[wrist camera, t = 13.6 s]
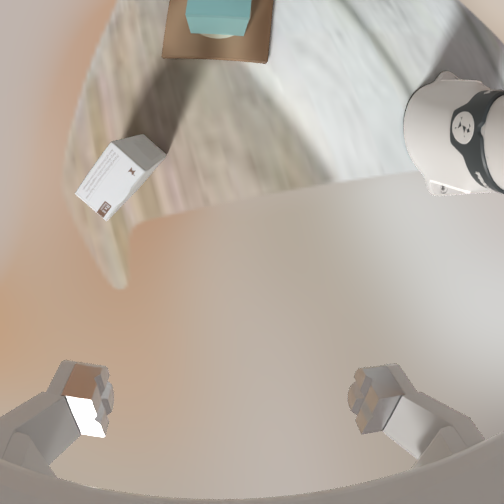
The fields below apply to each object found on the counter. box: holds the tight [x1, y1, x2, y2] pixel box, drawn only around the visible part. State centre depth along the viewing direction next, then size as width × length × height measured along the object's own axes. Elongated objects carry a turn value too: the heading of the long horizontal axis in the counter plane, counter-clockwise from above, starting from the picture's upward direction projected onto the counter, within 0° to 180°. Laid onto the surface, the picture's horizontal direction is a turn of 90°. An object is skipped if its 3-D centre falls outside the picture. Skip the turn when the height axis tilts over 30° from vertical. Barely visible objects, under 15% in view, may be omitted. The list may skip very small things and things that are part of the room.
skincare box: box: [75, 134, 167, 221], centre depth 30 cm, size 6×4×12 cm
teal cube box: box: [185, 0, 251, 36], centre depth 26 cm, size 6×6×7 cm
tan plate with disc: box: [162, 0, 273, 64], centre depth 28 cm, size 12×12×4 cm
